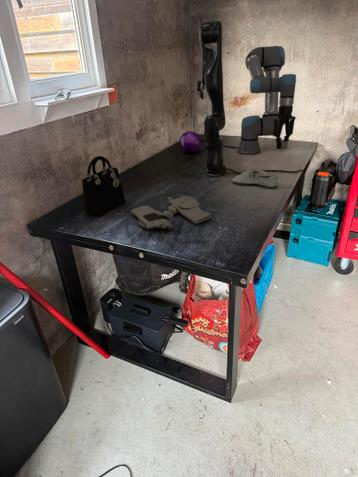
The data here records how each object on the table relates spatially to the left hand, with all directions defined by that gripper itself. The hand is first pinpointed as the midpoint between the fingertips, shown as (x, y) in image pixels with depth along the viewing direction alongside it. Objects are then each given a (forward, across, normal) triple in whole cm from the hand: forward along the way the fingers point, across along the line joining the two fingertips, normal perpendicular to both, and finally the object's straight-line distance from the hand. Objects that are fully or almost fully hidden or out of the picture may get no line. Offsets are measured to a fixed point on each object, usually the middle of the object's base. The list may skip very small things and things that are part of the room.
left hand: (208, 98), depth 203 cm
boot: (+37, -18, -35) cm, 54 cm away
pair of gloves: (+37, +54, +73) cm, 98 cm away
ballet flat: (+37, +1, +57) cm, 68 cm away
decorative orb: (+37, +6, -16) cm, 41 cm away
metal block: (+26, -28, +40) cm, 55 cm away
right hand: (+26, -28, +40) cm, 55 cm away
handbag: (+37, +79, +49) cm, 100 cm away
